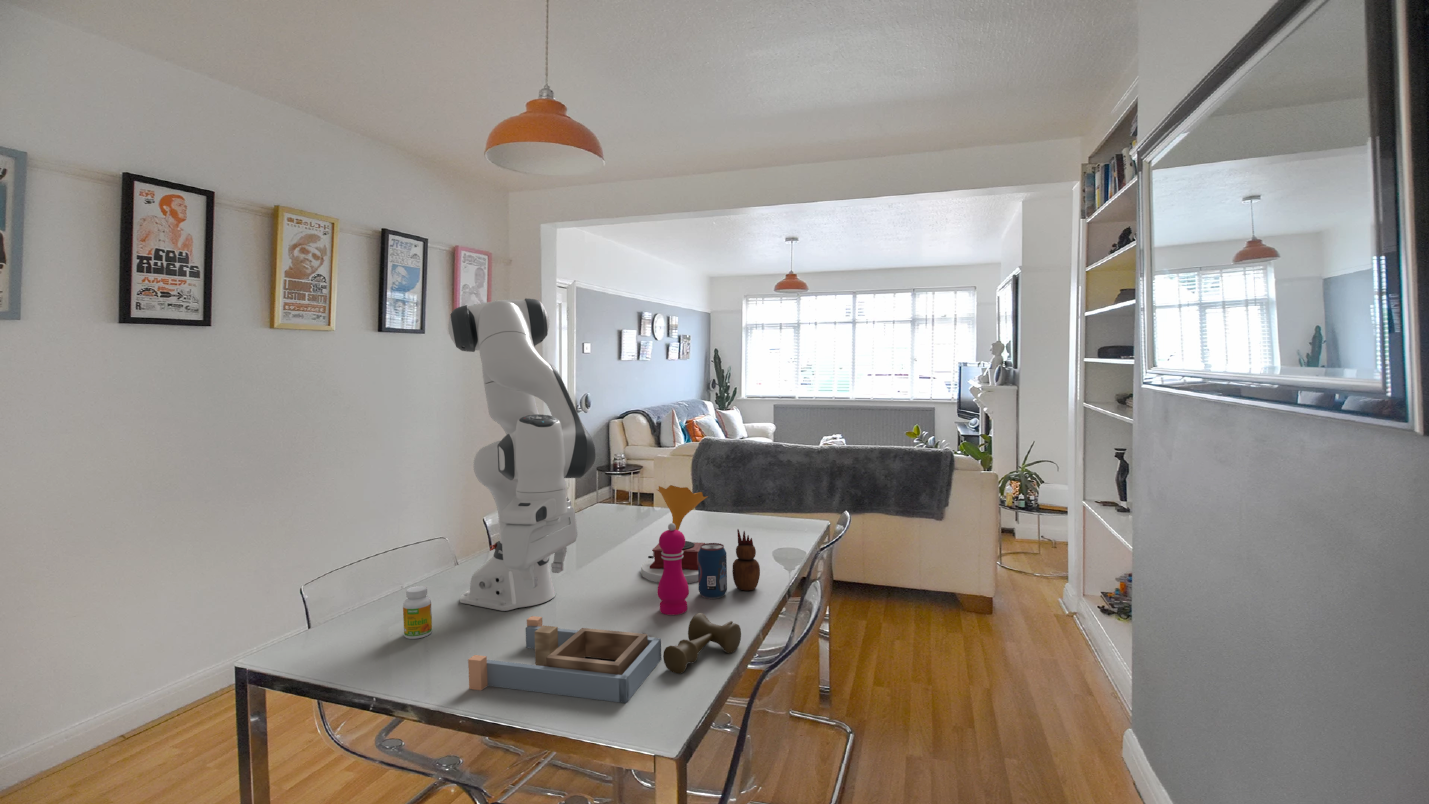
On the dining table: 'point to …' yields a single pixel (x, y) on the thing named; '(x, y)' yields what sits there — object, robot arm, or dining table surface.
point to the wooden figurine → (745, 565)
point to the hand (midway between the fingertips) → (544, 579)
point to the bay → (563, 672)
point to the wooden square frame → (589, 649)
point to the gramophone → (679, 506)
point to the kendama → (701, 642)
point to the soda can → (712, 570)
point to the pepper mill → (672, 573)
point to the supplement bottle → (417, 613)
